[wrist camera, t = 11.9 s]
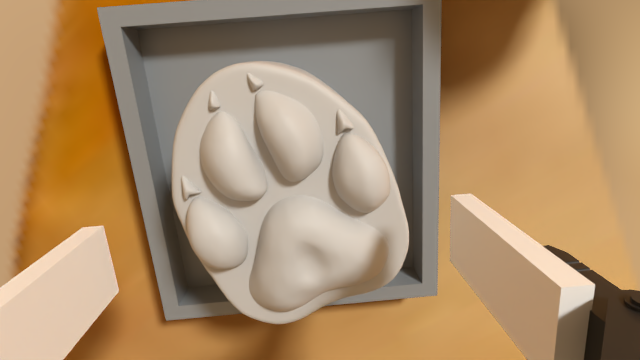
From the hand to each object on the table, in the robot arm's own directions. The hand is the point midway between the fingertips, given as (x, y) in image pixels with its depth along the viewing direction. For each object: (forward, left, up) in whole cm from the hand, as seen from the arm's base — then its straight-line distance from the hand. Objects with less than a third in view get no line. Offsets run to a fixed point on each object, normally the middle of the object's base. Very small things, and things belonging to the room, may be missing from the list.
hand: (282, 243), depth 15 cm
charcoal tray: (0, 0, -12) cm, 12 cm away
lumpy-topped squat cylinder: (0, 0, -11) cm, 11 cm away
